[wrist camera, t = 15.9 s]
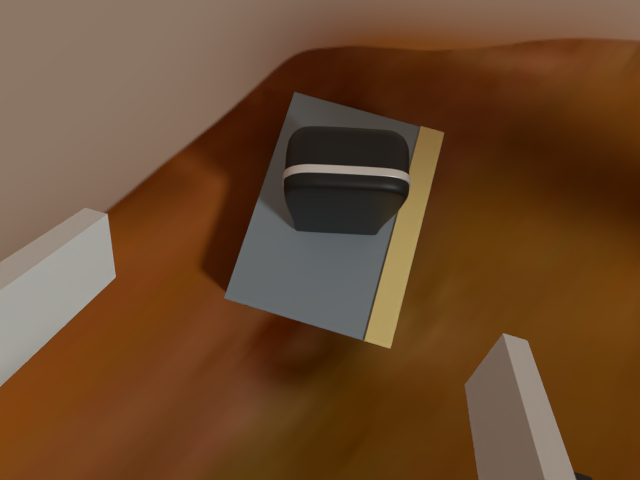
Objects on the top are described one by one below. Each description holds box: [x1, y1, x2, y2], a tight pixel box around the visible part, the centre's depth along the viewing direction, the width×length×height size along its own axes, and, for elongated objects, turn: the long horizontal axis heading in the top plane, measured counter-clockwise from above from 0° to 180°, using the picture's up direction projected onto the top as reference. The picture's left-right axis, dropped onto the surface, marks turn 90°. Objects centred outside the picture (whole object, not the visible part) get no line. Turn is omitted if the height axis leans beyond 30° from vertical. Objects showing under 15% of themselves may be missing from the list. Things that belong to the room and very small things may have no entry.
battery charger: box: [282, 126, 411, 235], centre depth 24 cm, size 7×4×11 cm, turn 87°
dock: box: [224, 92, 444, 349], centre depth 32 cm, size 13×18×4 cm
